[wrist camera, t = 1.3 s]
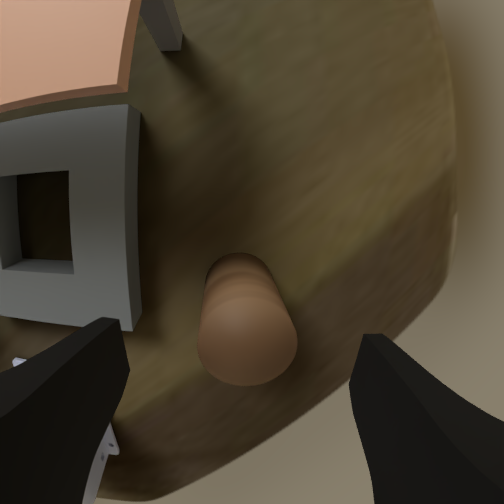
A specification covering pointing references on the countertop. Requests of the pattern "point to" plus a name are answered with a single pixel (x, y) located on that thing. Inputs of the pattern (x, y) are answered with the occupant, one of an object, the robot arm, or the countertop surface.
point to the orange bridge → (75, 46)
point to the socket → (75, 217)
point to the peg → (244, 323)
